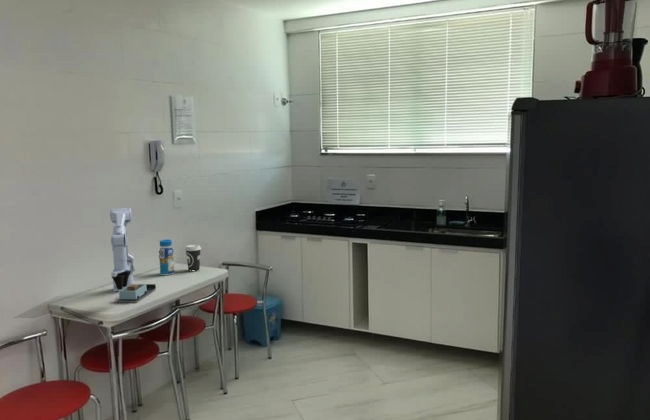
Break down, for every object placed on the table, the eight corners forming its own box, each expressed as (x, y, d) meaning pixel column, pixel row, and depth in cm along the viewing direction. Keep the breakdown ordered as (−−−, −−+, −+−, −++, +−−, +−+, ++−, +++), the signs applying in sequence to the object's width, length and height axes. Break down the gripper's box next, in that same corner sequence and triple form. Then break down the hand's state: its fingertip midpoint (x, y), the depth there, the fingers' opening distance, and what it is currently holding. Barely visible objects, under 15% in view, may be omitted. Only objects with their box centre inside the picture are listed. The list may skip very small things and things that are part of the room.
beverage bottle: (158, 273, 305) (156, 240, 302) (173, 271, 309) (171, 238, 306) (161, 276, 297) (159, 242, 295) (176, 274, 301) (174, 240, 299)
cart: (118, 299, 250) (117, 291, 249) (129, 292, 262) (129, 284, 261) (137, 299, 249) (136, 291, 248) (148, 292, 261) (147, 284, 260)
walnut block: (127, 295, 253) (126, 286, 253) (131, 293, 257) (130, 284, 257) (135, 295, 253) (134, 286, 252) (138, 293, 257) (138, 284, 256)
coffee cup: (198, 272, 305) (197, 247, 303) (183, 272, 307) (181, 247, 305) (204, 268, 315) (203, 244, 313) (190, 268, 316) (188, 244, 314)
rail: (116, 302, 248) (116, 296, 248) (137, 289, 271) (137, 284, 270) (136, 303, 248) (136, 296, 247) (155, 289, 270) (155, 284, 269)
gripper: (121, 263, 234) (122, 292, 236) (135, 256, 248) (137, 283, 250) (106, 263, 235) (108, 292, 237) (121, 256, 249) (123, 283, 251)
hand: (122, 287), depth 243 cm, fingers open, 4 cm apart
